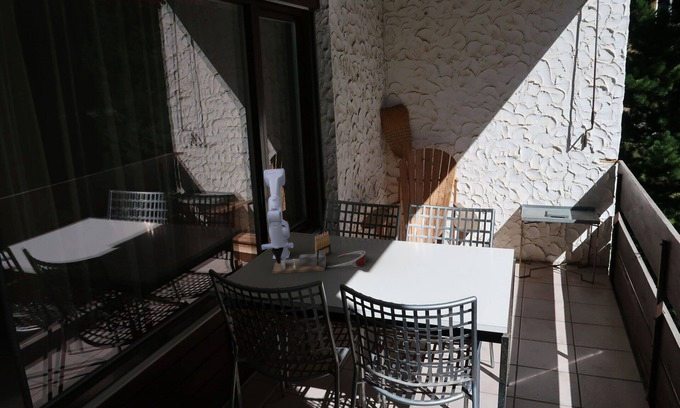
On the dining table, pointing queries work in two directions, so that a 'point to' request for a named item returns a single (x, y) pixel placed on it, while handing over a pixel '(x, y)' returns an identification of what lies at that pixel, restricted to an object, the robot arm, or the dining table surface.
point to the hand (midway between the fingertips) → (279, 263)
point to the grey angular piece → (287, 261)
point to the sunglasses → (355, 262)
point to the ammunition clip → (322, 244)
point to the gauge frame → (304, 264)
